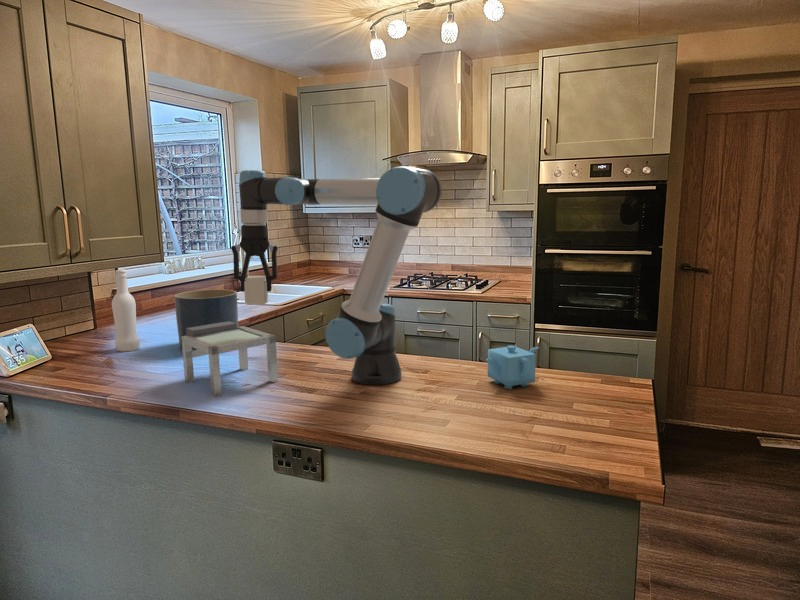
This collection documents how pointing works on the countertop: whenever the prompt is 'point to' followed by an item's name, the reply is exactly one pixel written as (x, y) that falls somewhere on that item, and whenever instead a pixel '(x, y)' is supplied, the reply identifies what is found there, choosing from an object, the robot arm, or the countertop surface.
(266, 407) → the countertop surface
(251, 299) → the cream rectangular block
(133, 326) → the bottle
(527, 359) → the teapot
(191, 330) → the trapdoor
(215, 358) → the frame
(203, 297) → the planter
